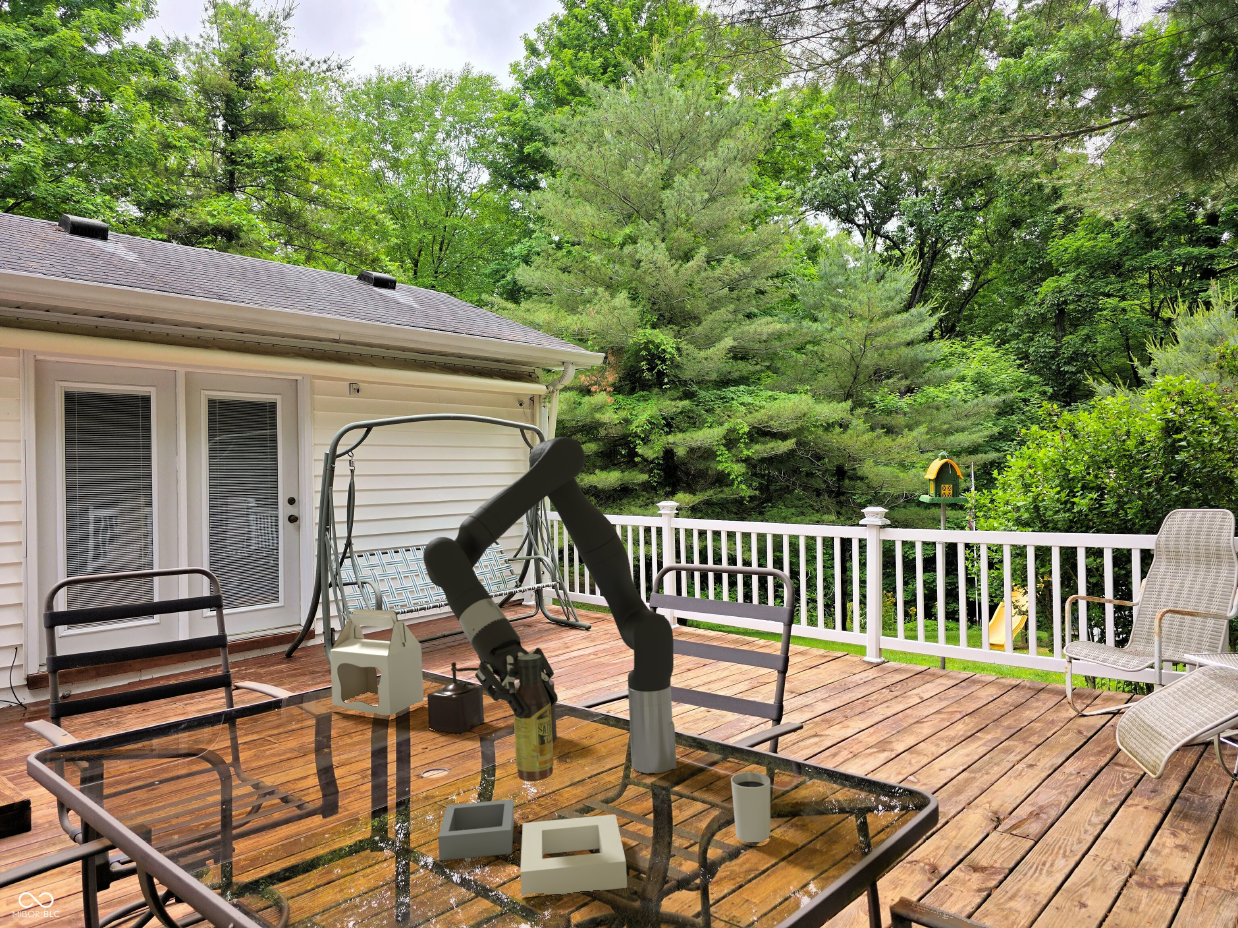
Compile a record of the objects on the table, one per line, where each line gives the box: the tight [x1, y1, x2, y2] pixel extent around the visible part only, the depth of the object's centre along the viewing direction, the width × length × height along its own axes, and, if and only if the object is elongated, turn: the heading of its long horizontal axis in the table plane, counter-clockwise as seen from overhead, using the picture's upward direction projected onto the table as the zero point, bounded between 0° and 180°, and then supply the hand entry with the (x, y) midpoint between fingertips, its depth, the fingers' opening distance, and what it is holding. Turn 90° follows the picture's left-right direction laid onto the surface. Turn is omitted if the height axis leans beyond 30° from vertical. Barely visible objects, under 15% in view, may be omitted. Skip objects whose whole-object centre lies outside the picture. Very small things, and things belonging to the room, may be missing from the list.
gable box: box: [329, 608, 425, 715], centre depth 212 cm, size 22×13×28 cm, turn 63°
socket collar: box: [519, 814, 628, 897], centre depth 122 cm, size 16×16×4 cm
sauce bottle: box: [513, 654, 555, 782], centre depth 125 cm, size 6×6×20 cm
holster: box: [437, 799, 515, 862], centre depth 132 cm, size 12×12×4 cm
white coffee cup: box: [730, 771, 771, 842], centre depth 128 cm, size 7×7×10 cm
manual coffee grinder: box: [427, 655, 486, 736], centre depth 196 cm, size 16×11×18 cm
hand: (539, 709), depth 125 cm, fingers closed on sauce bottle, 6 cm apart
